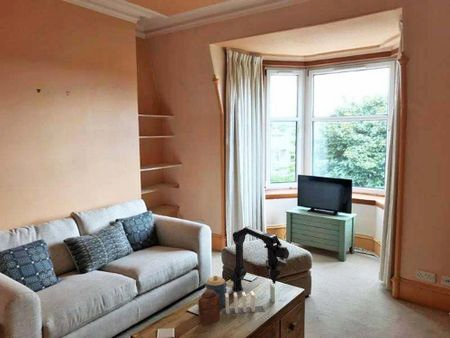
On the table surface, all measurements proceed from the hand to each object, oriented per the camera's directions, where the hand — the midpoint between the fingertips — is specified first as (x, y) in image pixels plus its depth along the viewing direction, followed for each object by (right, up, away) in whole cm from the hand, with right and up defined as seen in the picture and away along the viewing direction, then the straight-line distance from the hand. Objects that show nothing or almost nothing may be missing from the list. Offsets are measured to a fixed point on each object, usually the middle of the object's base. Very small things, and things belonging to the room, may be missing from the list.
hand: (273, 280), depth 210 cm
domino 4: (-13, -14, -9) cm, 21 cm away
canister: (-34, -14, +1) cm, 37 cm away
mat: (-19, -15, -9) cm, 26 cm away
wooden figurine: (-38, -17, -20) cm, 46 cm away
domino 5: (0, -13, +2) cm, 13 cm away
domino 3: (-18, -14, -9) cm, 25 cm away
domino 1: (-28, -15, -10) cm, 33 cm away
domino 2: (-23, -14, -10) cm, 29 cm away
